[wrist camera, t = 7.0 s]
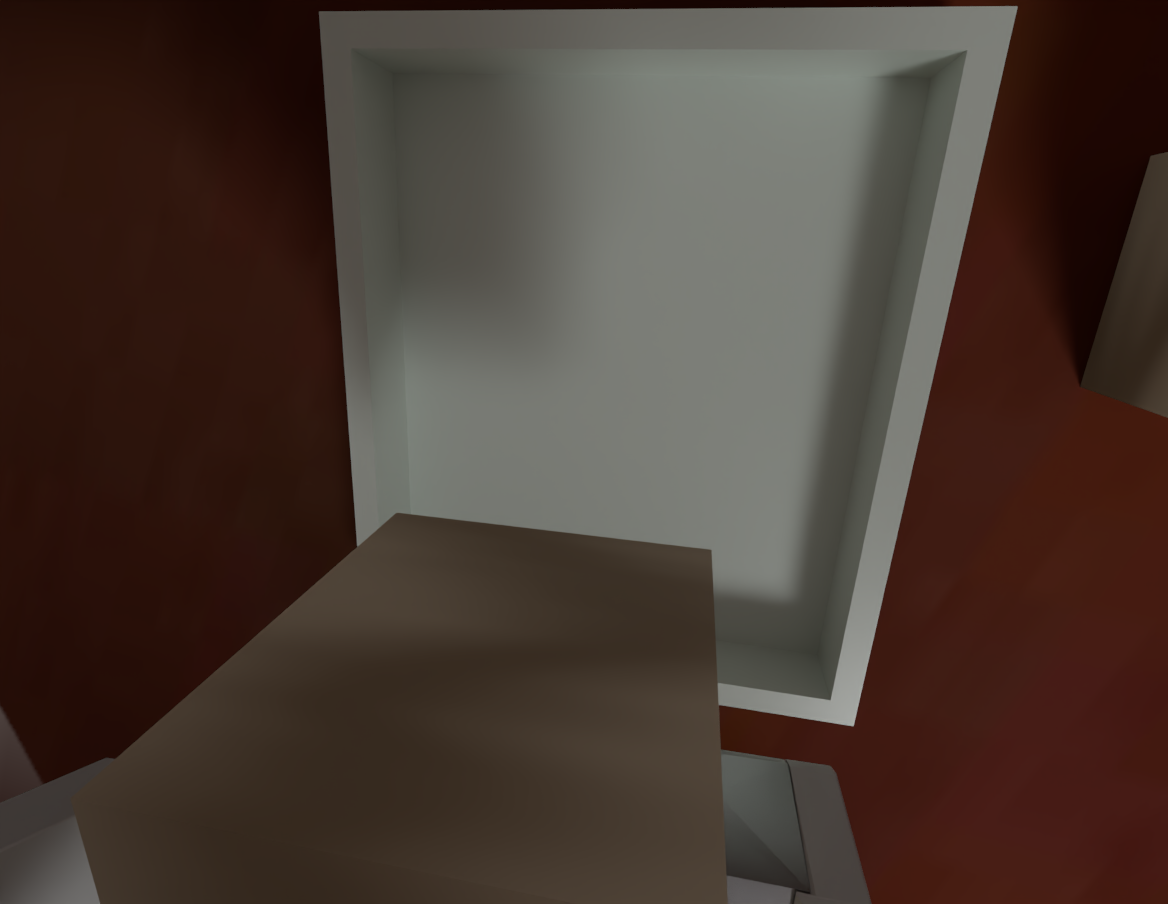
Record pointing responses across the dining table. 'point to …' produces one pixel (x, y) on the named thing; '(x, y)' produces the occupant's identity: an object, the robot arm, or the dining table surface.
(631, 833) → the block
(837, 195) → the tray
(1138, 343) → the block
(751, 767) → the robot arm
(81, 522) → the dining table surface
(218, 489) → the dining table surface
